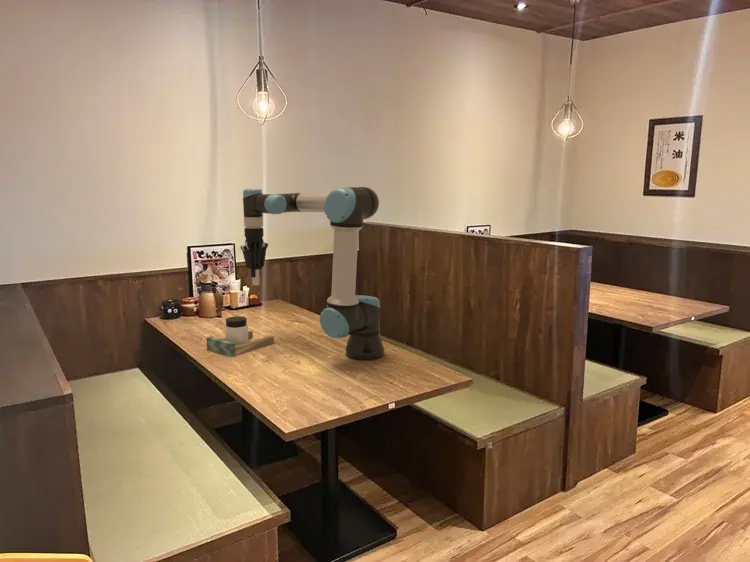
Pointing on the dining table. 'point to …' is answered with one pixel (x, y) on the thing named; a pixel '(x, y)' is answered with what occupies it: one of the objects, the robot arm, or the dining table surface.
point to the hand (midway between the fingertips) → (256, 284)
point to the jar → (236, 330)
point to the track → (232, 350)
